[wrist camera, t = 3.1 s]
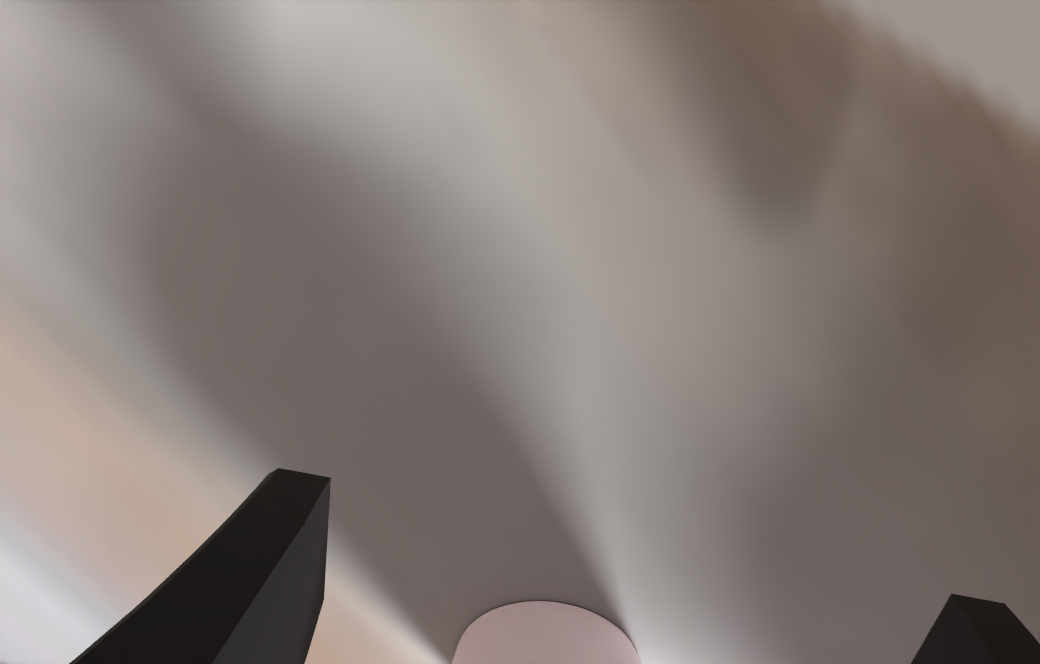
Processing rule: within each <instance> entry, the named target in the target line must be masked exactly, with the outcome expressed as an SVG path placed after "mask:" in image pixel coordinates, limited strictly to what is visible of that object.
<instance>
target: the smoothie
mask: <svg viewBox="0 0 1040 664" xmlns="http://www.w3.org/2000/svg"><path fill="white" fill-rule="evenodd" d="M451 664H640V661H639V657H638V654H637V652H636V650H635V648H634V646H633V644H632V643H631V641H630V640H629V639H628V637H627V636H626V635H625V634H624V633H623V632H622V631H621V630H620V629H619V628H618V627H616V626H615V625H614V624H612V623H611V622H609V621H608V620H606V619H605V618H603V617H601V616H599V615H597V614H595V613H593V612H591V611H588V610H585V609H583V608H580V607H576V606H573V605H568V604H564V603H557V602H548V601H529V602H520V603H514V604H509V605H505V606H502V607H499V608H496V609H494V610H491V611H489V612H487V613H485V614H484V615H482V616H480V617H479V618H478V619H476V620H475V621H474V622H473V623H472V624H471V625H469V626H468V628H467V629H466V630H465V631H464V633H463V635H462V636H461V639H460V641H459V643H458V646H457V649H456V652H455V655H454V658H453V660H452V663H451Z"/></svg>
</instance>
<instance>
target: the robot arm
mask: <svg viewBox="0 0 1040 664" xmlns="http://www.w3.org/2000/svg"><path fill="white" fill-rule="evenodd" d="M330 480H331V478H329V477H324V476H318V475H313V474H308V473H302V472H297V471H291V470H286V469H281V468H278V469H276V470H275V471H273V472H271V473H269V474H268V475H267V476H266V478H265V479H264V480H263V481H262V482H261V483H260V484H259V485H258V487H257V488H256V489H255V490H254V491H253V492H252V493H251V494H250V495H249V496H248V498H247V499H246V500H245V501H244V502H243V503H242V504H241V505H240V506H239V507H238V508H237V509H236V510H235V511H234V512H233V514H232V515H231V516H230V517H229V518H228V519H227V520H226V521H225V522H224V523H223V524H222V525H221V526H220V527H219V528H218V529H217V530H216V531H215V532H214V533H213V534H212V535H211V536H210V537H209V538H208V539H207V540H206V541H205V542H204V543H203V544H202V545H201V546H200V547H199V548H198V549H197V550H196V551H195V552H194V553H193V554H192V555H191V556H190V557H189V558H188V559H187V560H186V561H185V562H183V563H182V564H181V565H180V566H179V567H178V568H177V569H176V570H175V571H174V572H173V573H172V574H171V575H170V576H169V577H168V578H167V579H166V580H164V581H163V582H162V583H161V584H160V585H159V586H158V587H157V588H156V589H155V590H154V591H153V592H152V593H151V594H150V595H149V596H147V597H146V598H145V599H144V600H143V601H142V602H141V603H140V604H139V605H137V606H136V607H135V608H134V609H133V610H132V611H131V612H130V613H128V614H127V615H126V616H125V617H124V618H122V619H121V620H120V621H119V622H118V623H117V624H115V625H114V626H113V627H112V628H111V629H110V630H108V631H107V632H106V633H105V634H104V635H103V636H101V637H100V638H99V639H98V640H97V641H96V642H94V643H93V644H92V645H91V646H90V647H89V648H87V649H86V650H85V651H84V652H83V653H82V654H80V655H79V656H78V657H77V658H76V659H74V660H73V661H72V662H71V663H69V664H304V663H305V660H306V657H307V654H308V651H309V647H310V644H311V641H312V637H313V634H314V631H315V627H316V624H317V621H318V617H319V614H320V610H321V607H322V604H323V600H324V587H325V569H326V551H327V533H328V516H329V498H330ZM911 664H1040V644H1039V643H1038V641H1037V640H1036V639H1035V638H1034V637H1033V636H1032V634H1031V633H1030V632H1029V631H1028V630H1027V629H1026V627H1025V626H1024V625H1023V624H1022V623H1021V622H1020V620H1019V619H1018V618H1017V617H1016V616H1015V615H1014V614H1013V613H1012V611H1011V610H1010V609H1009V608H1008V607H1007V606H1006V605H1005V604H1004V603H998V602H993V601H988V600H982V599H977V598H972V597H966V596H961V595H956V594H951V596H950V597H949V599H948V601H947V603H946V604H945V606H944V608H943V609H942V611H941V613H940V615H939V616H938V618H937V620H936V621H935V623H934V625H933V627H932V628H931V630H930V632H929V633H928V635H927V637H926V639H925V640H924V642H923V644H922V646H921V647H920V649H919V651H918V652H917V654H916V656H915V658H914V659H913V661H912V663H911Z"/></svg>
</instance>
